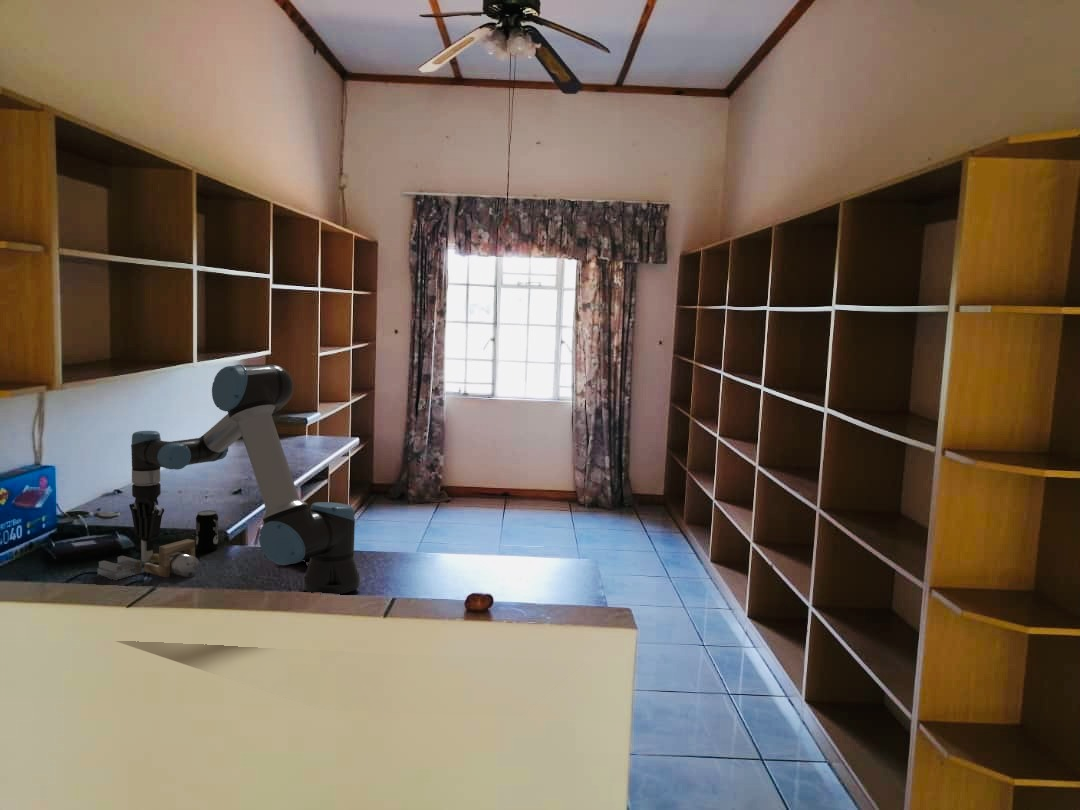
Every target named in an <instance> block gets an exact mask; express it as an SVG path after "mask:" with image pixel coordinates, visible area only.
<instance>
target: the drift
mask: <svg viewBox="0 0 1080 810" xmlns="http://www.w3.org/2000/svg"><path fill="white" fill-rule="evenodd" d="M150 560H151V561H150V563H152V564H155V565H159V553H153V555H152V556H151V558H150Z"/></svg>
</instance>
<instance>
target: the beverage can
mask: <svg viewBox="0 0 1080 810" xmlns="http://www.w3.org/2000/svg"><path fill="white" fill-rule="evenodd" d="M217 513H218V512H217V511H216V510H211V509H210V510H201V511H198V512H197V513H196V514H197V515H196V516H195V549H196V550H198V551H199V552H213V551H215V550H216V549H217V548H218V547H219V515H218V514H217Z"/></svg>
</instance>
